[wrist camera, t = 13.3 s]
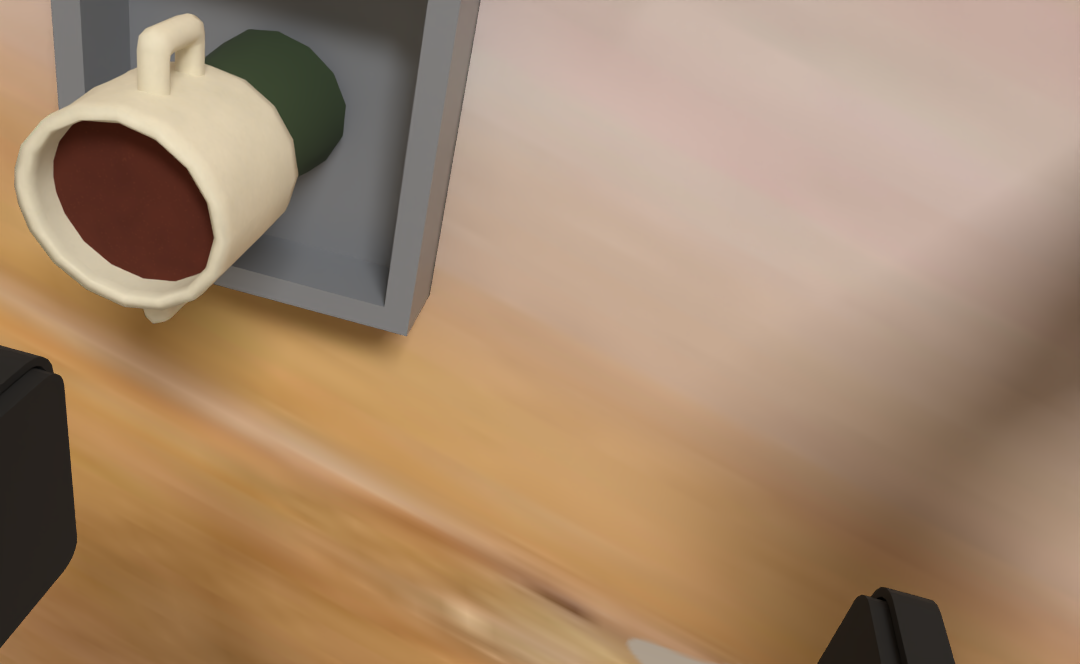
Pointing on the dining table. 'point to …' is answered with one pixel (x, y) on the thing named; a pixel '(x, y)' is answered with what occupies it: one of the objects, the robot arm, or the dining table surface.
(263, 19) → the grey tray
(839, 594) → the dining table surface
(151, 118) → the character mug
